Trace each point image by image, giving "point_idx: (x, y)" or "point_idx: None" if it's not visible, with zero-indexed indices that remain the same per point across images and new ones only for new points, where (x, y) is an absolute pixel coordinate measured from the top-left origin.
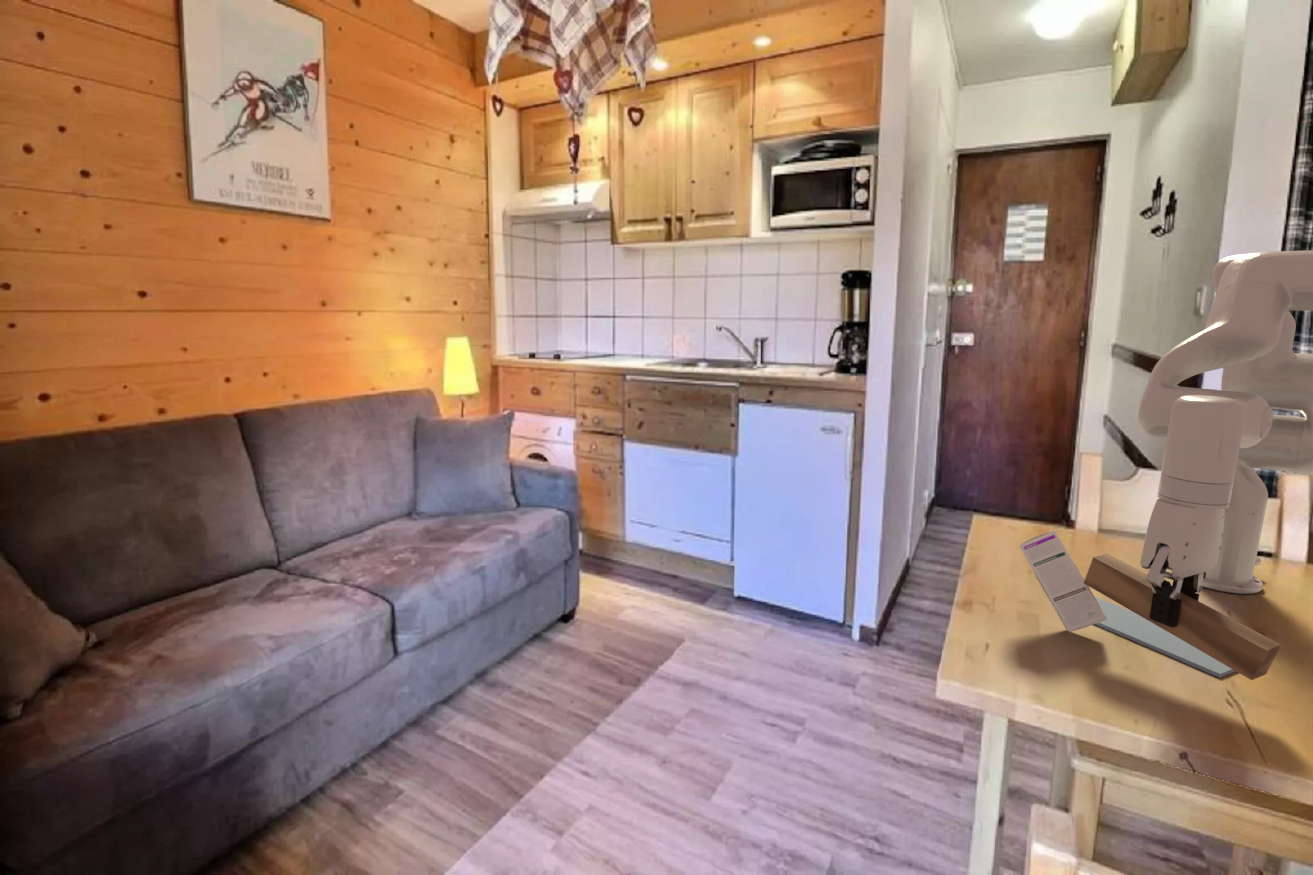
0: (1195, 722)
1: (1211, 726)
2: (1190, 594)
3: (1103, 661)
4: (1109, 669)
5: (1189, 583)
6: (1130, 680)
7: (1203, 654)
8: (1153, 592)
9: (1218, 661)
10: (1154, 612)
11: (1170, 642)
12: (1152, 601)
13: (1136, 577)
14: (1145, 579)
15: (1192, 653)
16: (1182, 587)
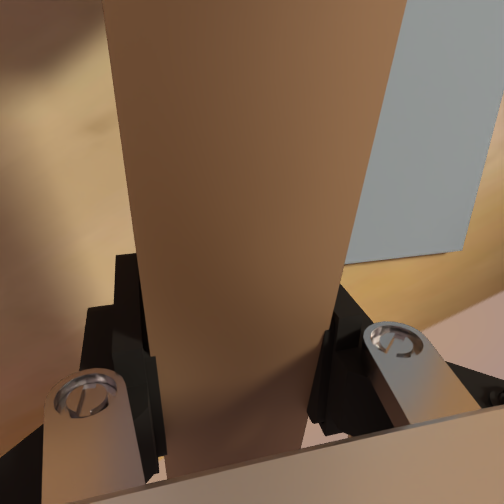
0: (11, 376)
1: (37, 393)
2: (317, 407)
3: (50, 58)
4: (18, 110)
5: (377, 424)
6: (28, 188)
7: (388, 187)
8: (69, 381)
9: (377, 227)
10: (87, 314)
11: (394, 95)
12: (115, 307)
13: (192, 175)
14: (248, 219)
15: (370, 171)
16: (341, 382)
